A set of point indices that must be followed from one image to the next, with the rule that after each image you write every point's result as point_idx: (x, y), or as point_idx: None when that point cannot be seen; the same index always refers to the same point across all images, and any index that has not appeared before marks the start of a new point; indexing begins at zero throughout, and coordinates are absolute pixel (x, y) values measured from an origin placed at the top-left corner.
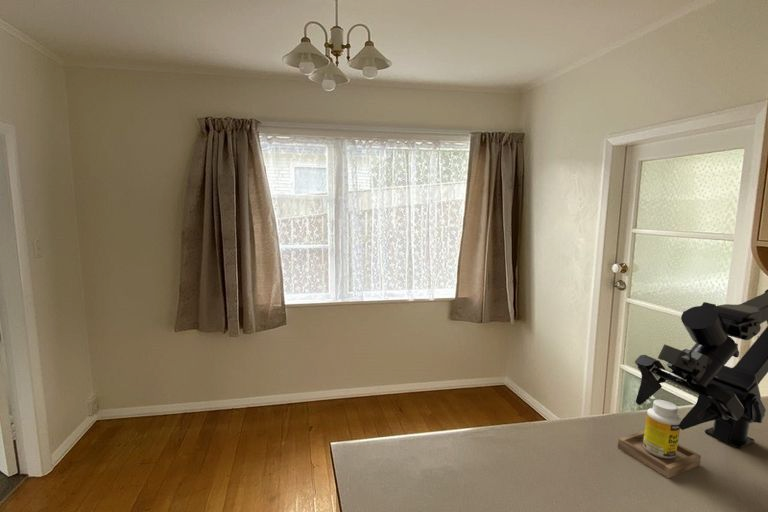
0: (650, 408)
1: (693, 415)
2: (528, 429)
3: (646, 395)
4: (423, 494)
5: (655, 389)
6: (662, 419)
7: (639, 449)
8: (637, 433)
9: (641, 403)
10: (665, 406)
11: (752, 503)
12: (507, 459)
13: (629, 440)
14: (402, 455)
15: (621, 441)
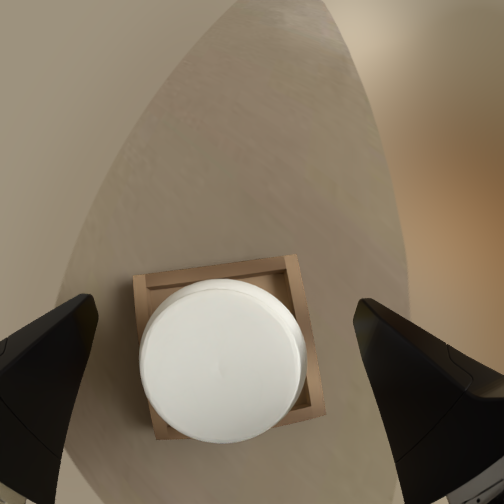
0: (292, 330)
1: (14, 335)
2: (374, 126)
3: (386, 375)
4: (246, 6)
5: (406, 461)
6: (177, 293)
7: (230, 270)
8: (310, 346)
9: (357, 335)
10: (191, 334)
11: None
12: (287, 59)
13: (289, 295)
14: (308, 12)
15: (285, 256)
